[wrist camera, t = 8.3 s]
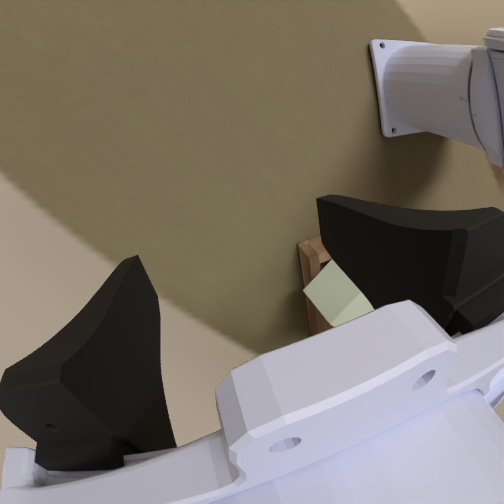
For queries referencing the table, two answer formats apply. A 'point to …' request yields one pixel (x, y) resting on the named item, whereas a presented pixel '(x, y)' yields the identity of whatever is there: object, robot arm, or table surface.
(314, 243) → the wooden tray
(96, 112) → the table surface
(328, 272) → the pale green block
